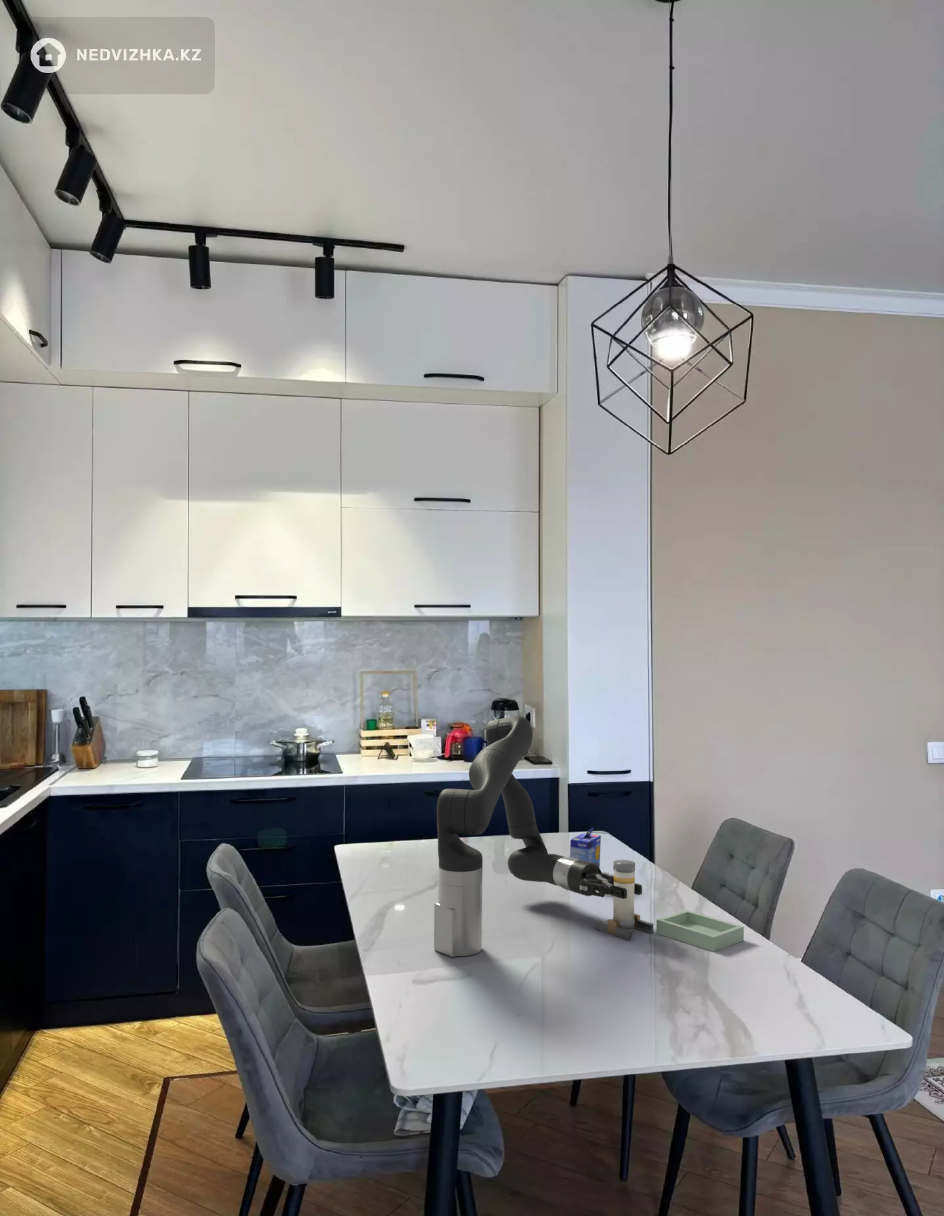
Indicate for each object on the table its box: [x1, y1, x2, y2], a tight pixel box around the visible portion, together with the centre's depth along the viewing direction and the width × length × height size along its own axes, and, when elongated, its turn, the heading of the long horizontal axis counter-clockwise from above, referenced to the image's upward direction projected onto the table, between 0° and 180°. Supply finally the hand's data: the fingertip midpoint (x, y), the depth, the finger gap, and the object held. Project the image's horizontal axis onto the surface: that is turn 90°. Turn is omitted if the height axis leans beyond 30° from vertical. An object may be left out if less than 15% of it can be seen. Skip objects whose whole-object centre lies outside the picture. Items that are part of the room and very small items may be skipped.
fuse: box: [612, 859, 636, 930], centre depth 204 cm, size 5×5×14 cm
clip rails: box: [594, 912, 654, 941], centre depth 204 cm, size 8×10×3 cm
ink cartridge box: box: [569, 827, 602, 869], centre depth 243 cm, size 10×6×14 cm, turn 152°
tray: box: [655, 909, 745, 953], centre depth 200 cm, size 11×15×3 cm
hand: (633, 892), depth 202 cm, fingers closed on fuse, 4 cm apart
